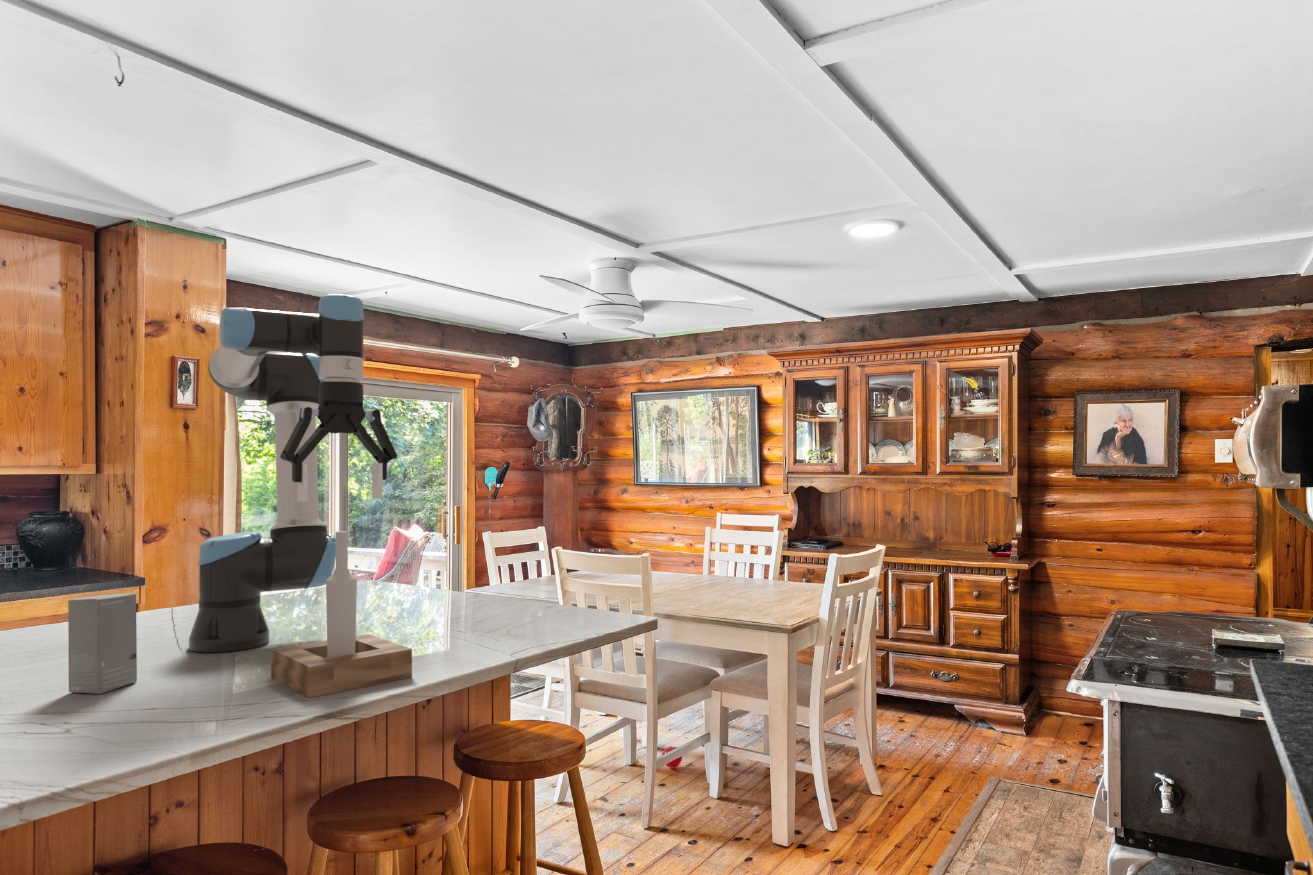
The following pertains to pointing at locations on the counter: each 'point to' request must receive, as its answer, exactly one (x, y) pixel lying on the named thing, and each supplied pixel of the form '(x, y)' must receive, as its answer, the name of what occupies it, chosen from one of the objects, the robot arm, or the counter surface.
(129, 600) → the skincare box
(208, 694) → the counter surface
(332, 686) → the frame
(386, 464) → the robot arm
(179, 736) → the counter surface
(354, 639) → the bottle
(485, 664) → the counter surface
